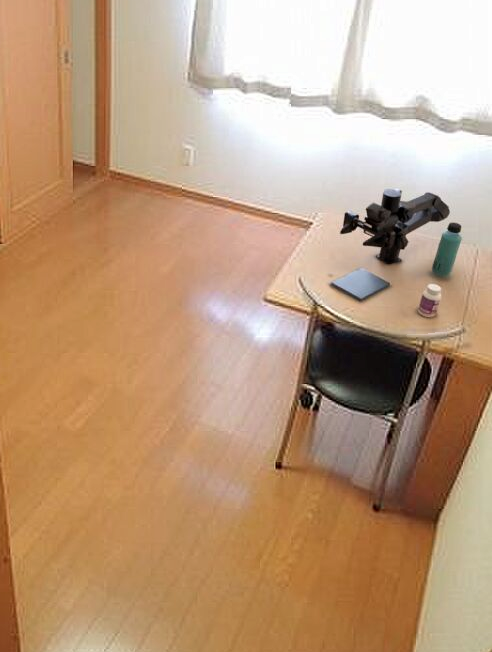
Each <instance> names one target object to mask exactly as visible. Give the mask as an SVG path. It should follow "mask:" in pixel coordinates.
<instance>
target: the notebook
mask: <svg viewBox="0 0 492 652" xmlns="http://www.w3.org/2000/svg"><path fill="white" fill-rule="evenodd" d="M330 286H331V287H333V288H335V289H337V290H339V291H341V292H342V293H344V294H346V295H348V296H349V297H351V298H352V299H355V300H357V301H359V302H363V301H364V300H366V299H368V298H370V297H372V296H374V295H376V294H377V293H379V292H382V291H383V290H385V289H387V288H389V287H390V286H391V282H389V281H387V280H385V279H383V278H382V277H380V276H378V275H376V274H374V273H372V272H370V271H368V270H366V269H364V268H362V267H359V268H357V269H355V270H353V271H351V272H349V273H347V274H345V275H343V276H341V277H339V278H337V279H335V280H333V281H331V282H330Z"/></svg>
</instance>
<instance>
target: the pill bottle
mask: <svg viewBox="0 0 492 652" xmlns="http://www.w3.org/2000/svg"><path fill="white" fill-rule="evenodd" d="M441 291H442V287H440V285H437V284H436V283H435V284H434V283H430V284H428V285H427V287H426V289H424V291H423V292H422V295H421V299H420V301H419V305H418V307H417V312H418V314H420V315H421V316H423V317H426V318H432V317H435V316H436V314H437V311H438V308H439V305H440V302H441V299H442V294H441Z"/></svg>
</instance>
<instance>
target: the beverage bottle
mask: <svg viewBox="0 0 492 652" xmlns="http://www.w3.org/2000/svg"><path fill="white" fill-rule="evenodd" d="M446 230H447V231H444V232H442V233H441V237H440V240H439V243H438V246H437V250H436V253H435V256H434V259H433V262H432V267H431V271H432V273H433V274H435V275H436V276H439V277H449V276H450V275H451V274H452V272H453V269H454V265H455V262H456V259H457V254H458V252H459V250H460V249H459V248H460V245H461V242H462V240H463V237H462V236H461V234H460V233H461V231H462V225H461V224H460V223H457V222H450V223H448V225H447V227H446Z"/></svg>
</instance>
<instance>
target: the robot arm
mask: <svg viewBox="0 0 492 652" xmlns="http://www.w3.org/2000/svg"><path fill="white" fill-rule="evenodd" d="M402 193H403V190H401V189H399V188H395V189H394V188H386V189H384V190H383V192H382V196H381V197H382V198H381V203H380V204H378V203H375V202H371V203H370V204H369V205H368V206H366V207H365V211H366V215H365V216H364V218H363V220H364V221H363V220H362V219H360V214H358V213H357V212H353V211H352V210H348V211H346V212H344V214H343V223H342V228H341V229H340V231H339V234H340V235H345V234H350V233H353V232H354V231H356V230H357V229H358V228H359V229H361V230H363V234H365V235H367V236H370V238H368V239H366V240H364V241H363V242H362V246H363V247H372V248H373V247H374V248H380V251H379V253H378V254H375V257H376V258H377V259H379V260H380V261H382V262H384V263H385V264H387V265H392V264H395V263H400V262H401V261H402V258H401V257H400V253H401V251H402V250H405V249H406V248H407V247H408V244H409V242H410V241H409V240H408V238H407V235H408V234H410V233H412V232H414V231H416V230H417V229H420V228H421V227H423V226H424V225H426V224H429V223H430V222H431V223H432V222H434V223H439V222H441V221H444V220H446V219H447V218H448V217H449V215H450V214H451V213H450V212H451V211H450V207H449V205H447V203H446V202H444V201H443V200H442V198H441V197H440V195H437V194H434V193H433V192H428V191H427V192H425V193H424V194H423V195H420V196H417V197H415V198H413V199H410V200H407V201H405V200H402V199H401V198H402Z"/></svg>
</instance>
